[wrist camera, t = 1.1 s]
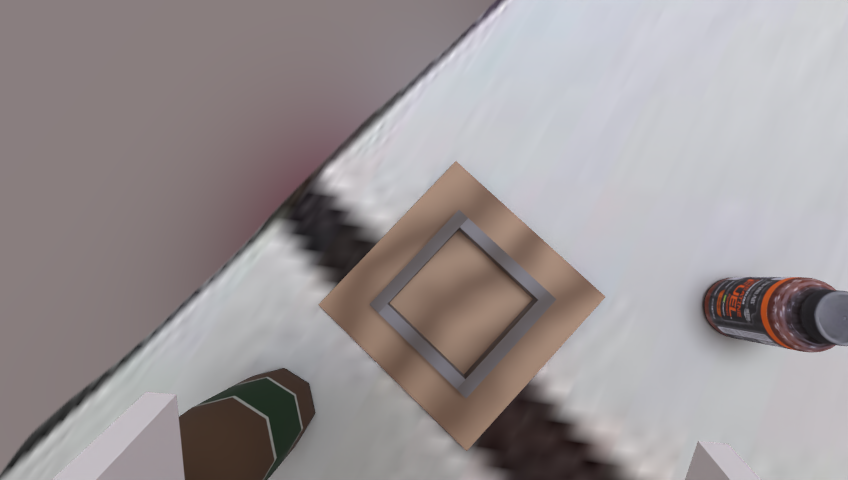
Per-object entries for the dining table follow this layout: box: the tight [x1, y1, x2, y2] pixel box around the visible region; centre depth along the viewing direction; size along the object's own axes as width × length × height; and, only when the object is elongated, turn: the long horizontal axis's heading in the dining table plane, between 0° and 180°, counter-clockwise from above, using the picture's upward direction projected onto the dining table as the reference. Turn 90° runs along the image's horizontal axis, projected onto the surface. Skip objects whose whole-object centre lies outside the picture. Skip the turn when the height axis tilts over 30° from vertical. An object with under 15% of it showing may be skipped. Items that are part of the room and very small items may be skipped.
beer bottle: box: [179, 368, 315, 480], centre depth 29 cm, size 8×8×24 cm
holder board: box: [319, 162, 605, 451], centre depth 40 cm, size 20×20×3 cm
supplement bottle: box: [704, 277, 848, 352], centre depth 35 cm, size 6×6×11 cm
